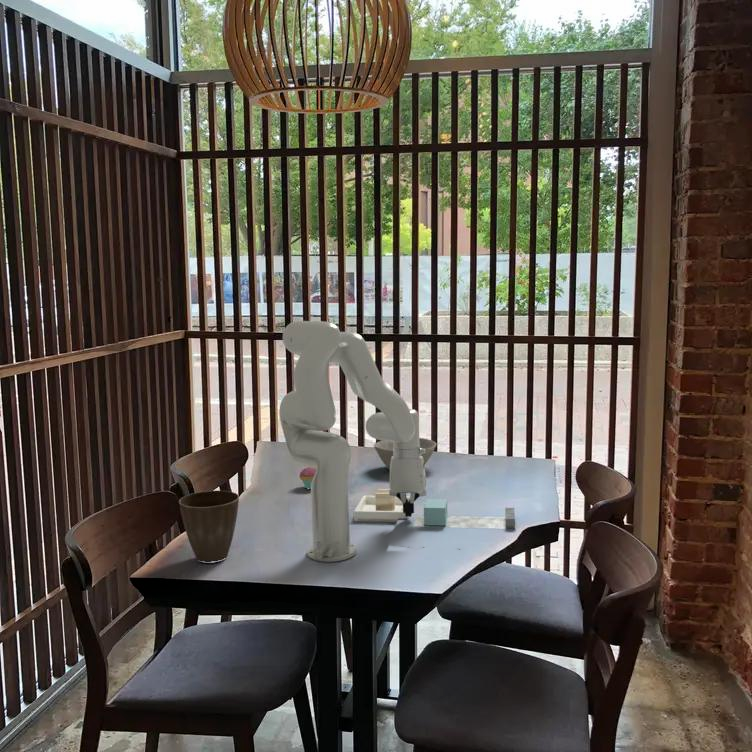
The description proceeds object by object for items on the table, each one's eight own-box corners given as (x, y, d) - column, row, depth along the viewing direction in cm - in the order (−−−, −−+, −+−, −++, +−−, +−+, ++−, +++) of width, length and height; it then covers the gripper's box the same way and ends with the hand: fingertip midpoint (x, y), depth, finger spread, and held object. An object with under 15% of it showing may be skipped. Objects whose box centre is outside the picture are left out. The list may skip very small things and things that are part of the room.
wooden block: (392, 513, 222) (392, 493, 221) (375, 513, 222) (375, 493, 222) (394, 508, 226) (394, 489, 226) (378, 508, 227) (377, 488, 227)
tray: (408, 522, 216) (408, 512, 215) (354, 521, 218) (354, 511, 218) (414, 505, 231) (414, 496, 231) (363, 504, 234) (363, 495, 233)
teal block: (445, 525, 208) (445, 508, 207) (424, 524, 209) (423, 507, 208) (447, 516, 216) (447, 499, 215) (426, 515, 216) (426, 499, 216)
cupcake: (297, 486, 257) (295, 452, 256) (320, 483, 260) (319, 449, 259) (303, 492, 249) (302, 457, 248) (328, 489, 252) (326, 454, 251)
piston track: (515, 533, 204) (515, 519, 203) (413, 530, 208) (412, 516, 208) (514, 521, 214) (514, 507, 213) (416, 519, 218) (416, 506, 218)
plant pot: (218, 544, 202) (214, 487, 200) (254, 556, 193) (251, 496, 191) (170, 561, 191) (166, 500, 189) (206, 574, 181) (203, 511, 179)
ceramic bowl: (375, 463, 286) (374, 437, 285) (435, 462, 285) (435, 436, 284) (373, 478, 264) (372, 451, 263) (438, 477, 263) (437, 450, 262)
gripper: (434, 449, 213) (435, 511, 216) (382, 449, 216) (384, 510, 218) (431, 456, 206) (433, 520, 209) (378, 456, 208) (381, 519, 211)
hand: (408, 515), depth 213 cm, fingers closed
